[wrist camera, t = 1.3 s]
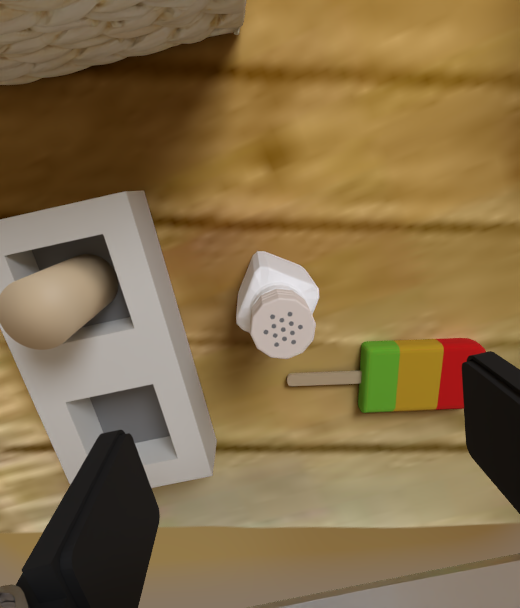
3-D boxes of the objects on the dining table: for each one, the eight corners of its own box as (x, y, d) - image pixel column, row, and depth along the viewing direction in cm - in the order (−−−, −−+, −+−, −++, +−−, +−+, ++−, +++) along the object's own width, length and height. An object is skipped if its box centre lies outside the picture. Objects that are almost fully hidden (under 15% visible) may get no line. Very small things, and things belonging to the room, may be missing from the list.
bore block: (143, 190, 25) (99, 192, 18) (216, 440, 31) (206, 523, 24) (-1, 222, 26) (-107, 238, 18) (98, 464, 32) (50, 554, 24)
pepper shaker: (286, 316, 28) (304, 377, 19) (235, 298, 28) (229, 351, 19) (307, 267, 27) (338, 306, 18) (255, 246, 27) (260, 277, 18)
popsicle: (468, 397, 31) (482, 410, 30) (286, 405, 31) (288, 418, 29) (477, 334, 30) (492, 344, 28) (285, 342, 29) (288, 352, 28)
